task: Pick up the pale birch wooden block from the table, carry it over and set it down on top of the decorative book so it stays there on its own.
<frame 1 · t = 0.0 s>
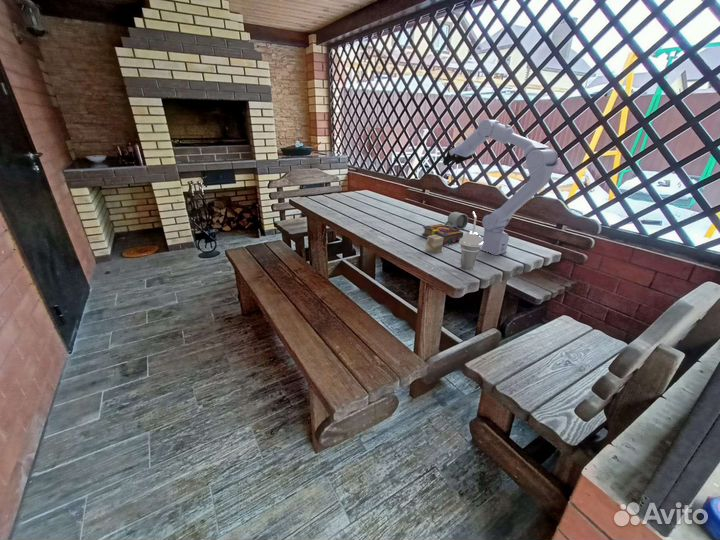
hand: (450, 163, 146), 32 cm above the table, tool tilted 50°, fingers open, 7 cm apart
birch block: (433, 250, 137), on the table
ceramic mug: (454, 227, 168), on the table
cup with straw: (467, 267, 122), on the table
decorative book: (442, 239, 152), on the table
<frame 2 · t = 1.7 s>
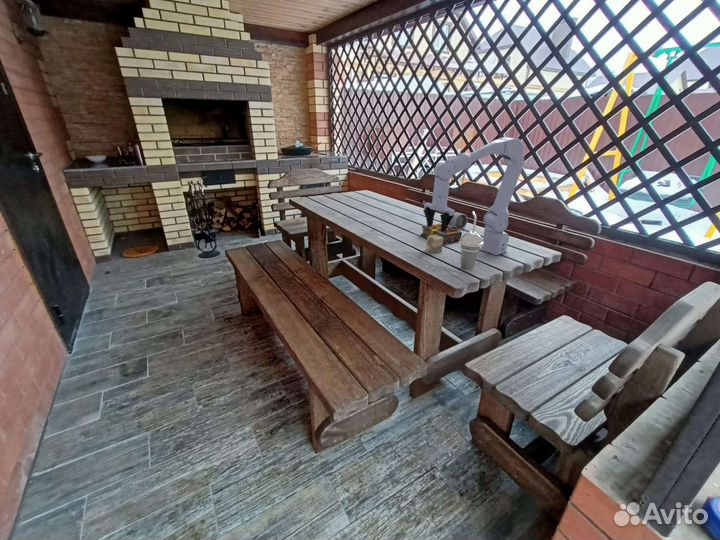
hand: (436, 228, 133), 9 cm above the table, tool pointing down, fingers open, 7 cm apart
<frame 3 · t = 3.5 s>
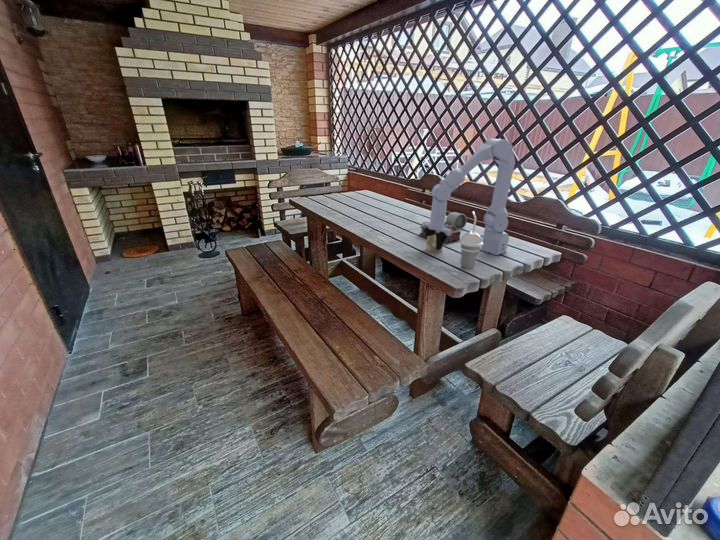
hand: (434, 247, 137), 1 cm above the table, tool pointing down, fingers closed on birch block, 4 cm apart
birch block: (433, 250, 137), on the table, touching gripper
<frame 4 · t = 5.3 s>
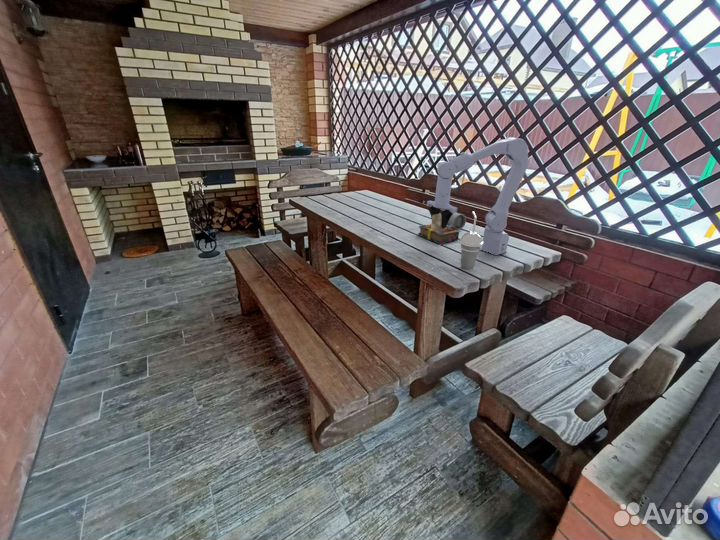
hand: (439, 226, 137), 9 cm above the table, tool pointing down, fingers closed on birch block, 4 cm apart
birch block: (438, 229, 138), point 8 cm above the table, touching gripper
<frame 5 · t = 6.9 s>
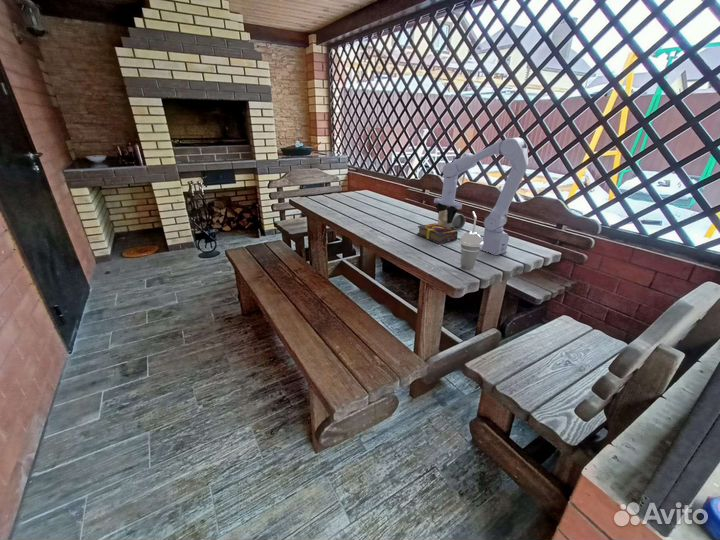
hand: (445, 221, 148), 8 cm above the table, tool pointing down, fingers closed on birch block, 4 cm apart
birch block: (444, 224, 149), point 6 cm above the table, touching gripper
when the fingers open (8 cm above the table, at t = 7.2 s): birch block drops 2 cm, resting on decorative book.
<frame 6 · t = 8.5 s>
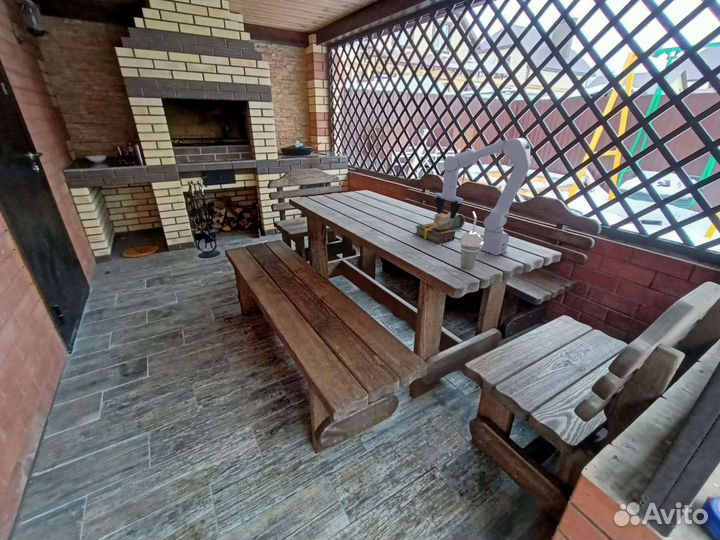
hand: (446, 216, 147), 10 cm above the table, tool pointing down, fingers open, 7 cm apart
birch block: (439, 227, 150), point 5 cm above the table, touching decorative book
decorative book: (434, 238, 153), on the table, touching birch block
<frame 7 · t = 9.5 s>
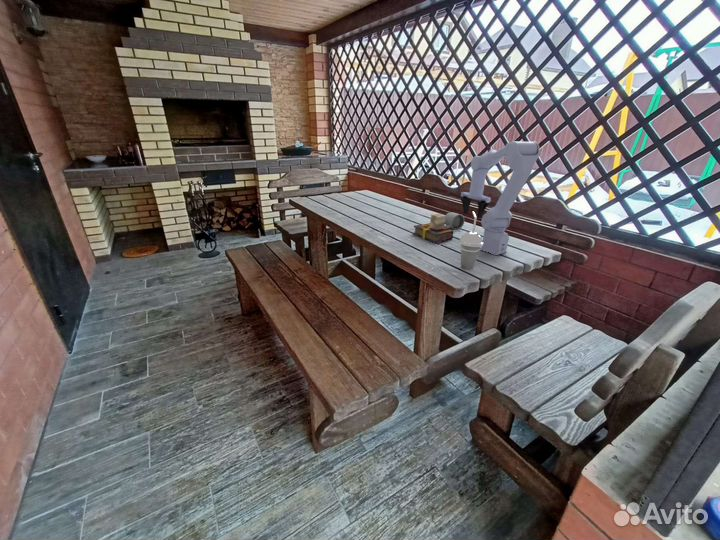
hand: (472, 215, 150), 10 cm above the table, tool pointing down, fingers open, 7 cm apart
birch block: (436, 227, 151), point 5 cm above the table, touching decorative book
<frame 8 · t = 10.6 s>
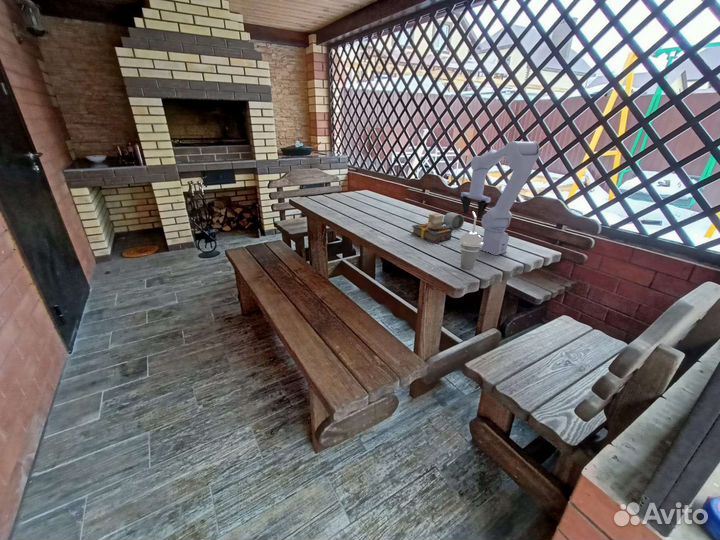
hand: (472, 215, 150), 10 cm above the table, tool pointing down, fingers open, 7 cm apart
birch block: (434, 227, 151), point 5 cm above the table, touching decorative book
at the end: birch block inside the target area on the decorative book (0.8 cm from its centre), point 5.2 cm above the decorative book's base; birch block tilted 0°; the gripper is holding nothing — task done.
